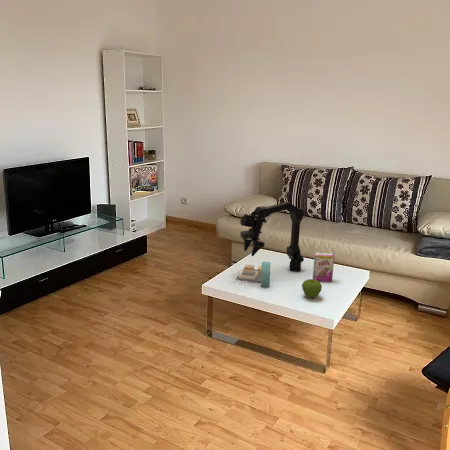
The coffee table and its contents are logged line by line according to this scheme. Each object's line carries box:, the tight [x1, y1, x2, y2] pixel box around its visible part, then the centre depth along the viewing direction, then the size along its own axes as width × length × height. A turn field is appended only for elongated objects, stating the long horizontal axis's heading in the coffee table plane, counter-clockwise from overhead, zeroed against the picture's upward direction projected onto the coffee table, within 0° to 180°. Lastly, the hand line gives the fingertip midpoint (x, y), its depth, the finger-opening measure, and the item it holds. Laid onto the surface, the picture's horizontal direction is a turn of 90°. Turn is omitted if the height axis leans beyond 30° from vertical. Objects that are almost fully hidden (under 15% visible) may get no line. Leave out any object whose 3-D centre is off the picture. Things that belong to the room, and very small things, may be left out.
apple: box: [301, 278, 323, 299], centre depth 262 cm, size 11×10×10 cm
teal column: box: [260, 261, 272, 289], centre depth 275 cm, size 5×5×14 cm
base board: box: [236, 264, 262, 284], centre depth 290 cm, size 16×17×4 cm
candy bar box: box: [312, 252, 335, 283], centre depth 284 cm, size 11×5×16 cm, turn 84°
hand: (248, 253), depth 284 cm, fingers open, 9 cm apart
